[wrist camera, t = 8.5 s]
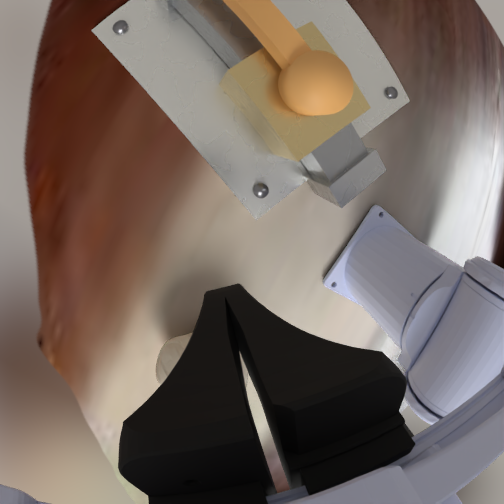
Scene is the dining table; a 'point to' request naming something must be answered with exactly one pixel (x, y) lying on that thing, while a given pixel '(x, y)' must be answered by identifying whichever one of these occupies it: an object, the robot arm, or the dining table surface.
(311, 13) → the mounting plate
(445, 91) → the dining table surface
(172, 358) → the baseball
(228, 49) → the pipe valve
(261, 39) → the lever
